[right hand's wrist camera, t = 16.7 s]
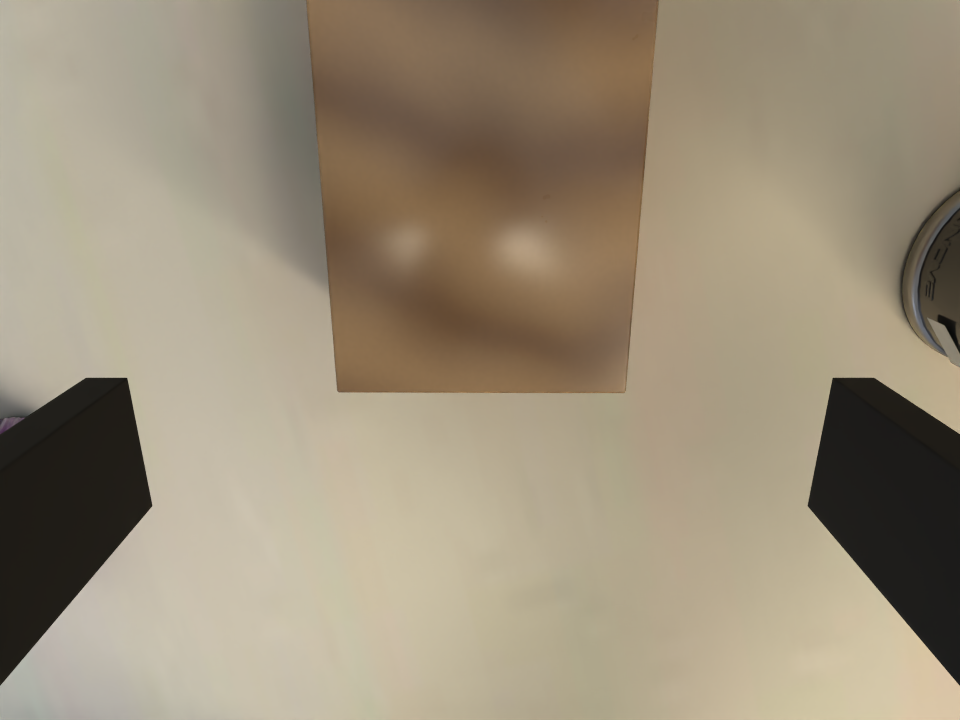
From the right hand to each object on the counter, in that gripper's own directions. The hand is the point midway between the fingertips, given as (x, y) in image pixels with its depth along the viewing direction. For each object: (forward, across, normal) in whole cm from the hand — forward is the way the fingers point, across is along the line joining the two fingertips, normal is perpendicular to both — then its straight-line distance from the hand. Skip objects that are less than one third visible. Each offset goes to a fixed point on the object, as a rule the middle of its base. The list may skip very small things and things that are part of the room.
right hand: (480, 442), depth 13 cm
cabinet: (+20, 0, -6) cm, 21 cm away
